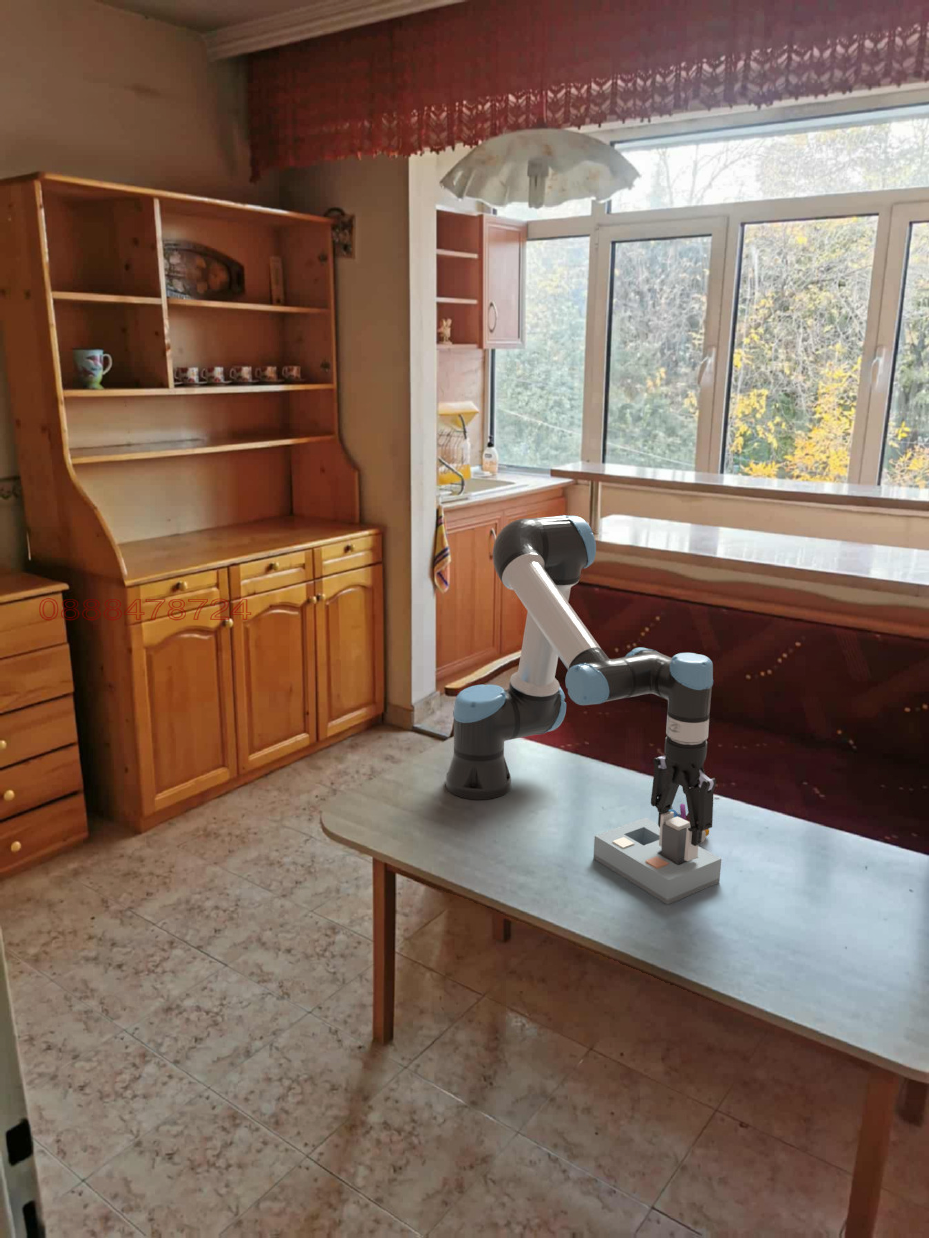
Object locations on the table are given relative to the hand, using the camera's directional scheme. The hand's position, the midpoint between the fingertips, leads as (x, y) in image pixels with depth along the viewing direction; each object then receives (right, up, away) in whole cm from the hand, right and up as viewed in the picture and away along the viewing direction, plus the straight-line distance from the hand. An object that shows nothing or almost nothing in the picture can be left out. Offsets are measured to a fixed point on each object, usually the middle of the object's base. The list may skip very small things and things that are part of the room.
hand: (677, 850), depth 177 cm
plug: (0, -5, +1) cm, 5 cm away
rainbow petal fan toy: (+6, -2, +18) cm, 19 cm away
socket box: (-3, -5, +5) cm, 7 cm away
